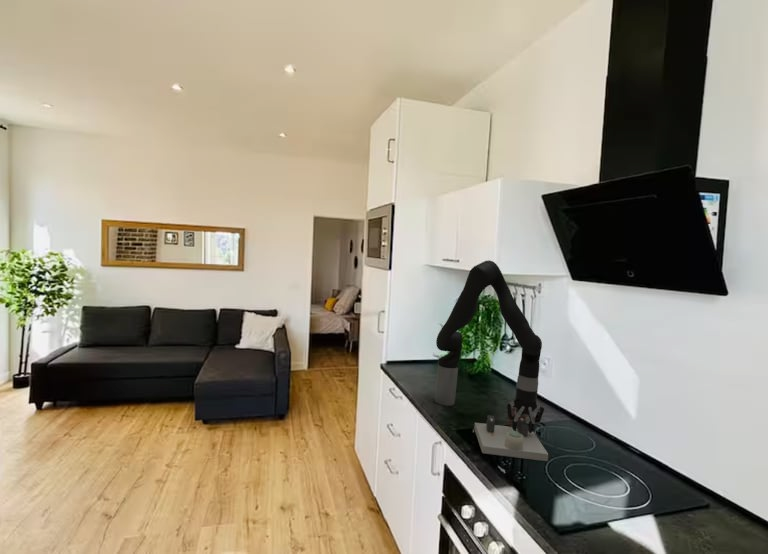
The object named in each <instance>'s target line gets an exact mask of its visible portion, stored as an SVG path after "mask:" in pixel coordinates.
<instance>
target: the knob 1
mask: <svg viewBox="0 0 768 554" xmlns="http://www.w3.org/2000/svg"><path fill="white" fill-rule="evenodd" d="M485 424H486V426H487V431H488V432H494V427H495V425H496V419H495V416H494V415H490V414H488V415H486V423H485Z"/></svg>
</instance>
